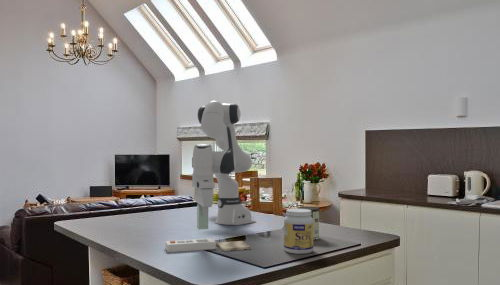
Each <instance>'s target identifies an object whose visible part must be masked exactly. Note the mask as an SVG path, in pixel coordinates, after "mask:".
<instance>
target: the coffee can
mask: <svg viewBox="0 0 500 285" xmlns="http://www.w3.org/2000/svg"><path fill="white" fill-rule="evenodd" d="M296 209H308V210H311V214H312V215H311V217H312V218H313V221H314V222H313V241H314V240H315V239H316V240H318V239H320V207H317V206H298V207H297V208H296ZM316 240H315V241H316Z"/></svg>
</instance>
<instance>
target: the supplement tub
mask: <svg viewBox="0 0 500 285" xmlns="http://www.w3.org/2000/svg"><path fill="white" fill-rule="evenodd" d="M285 214H287V216H286V217H285V216H284V219H283V227H284V228H283V249H284V251H285V252H286V253H289V254H295V255H305V254H310V253H312V252H313V250H314V240H313V222H314V221H313V218H312V217H311V215H312V214H311V210H308V209H297V208H288V209H286V212H285Z"/></svg>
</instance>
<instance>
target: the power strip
mask: <svg viewBox="0 0 500 285" xmlns="http://www.w3.org/2000/svg"><path fill="white" fill-rule="evenodd" d="M216 243H217V241H215V240H214V239H213V238H196V239H195V238H194V239H179V240H165V245H164V246H165V247H164V248H165V250H166V252H167V253H176V252H192V251H203V250H204V251H207V250H216V249H217V245H216Z"/></svg>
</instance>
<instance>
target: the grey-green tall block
mask: <svg viewBox="0 0 500 285" xmlns="http://www.w3.org/2000/svg"><path fill="white" fill-rule="evenodd" d="M196 229H197V230H209V207H208V208H207V215H206V216H202V206H201V205H200V204H198V203H197V204H196Z"/></svg>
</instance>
